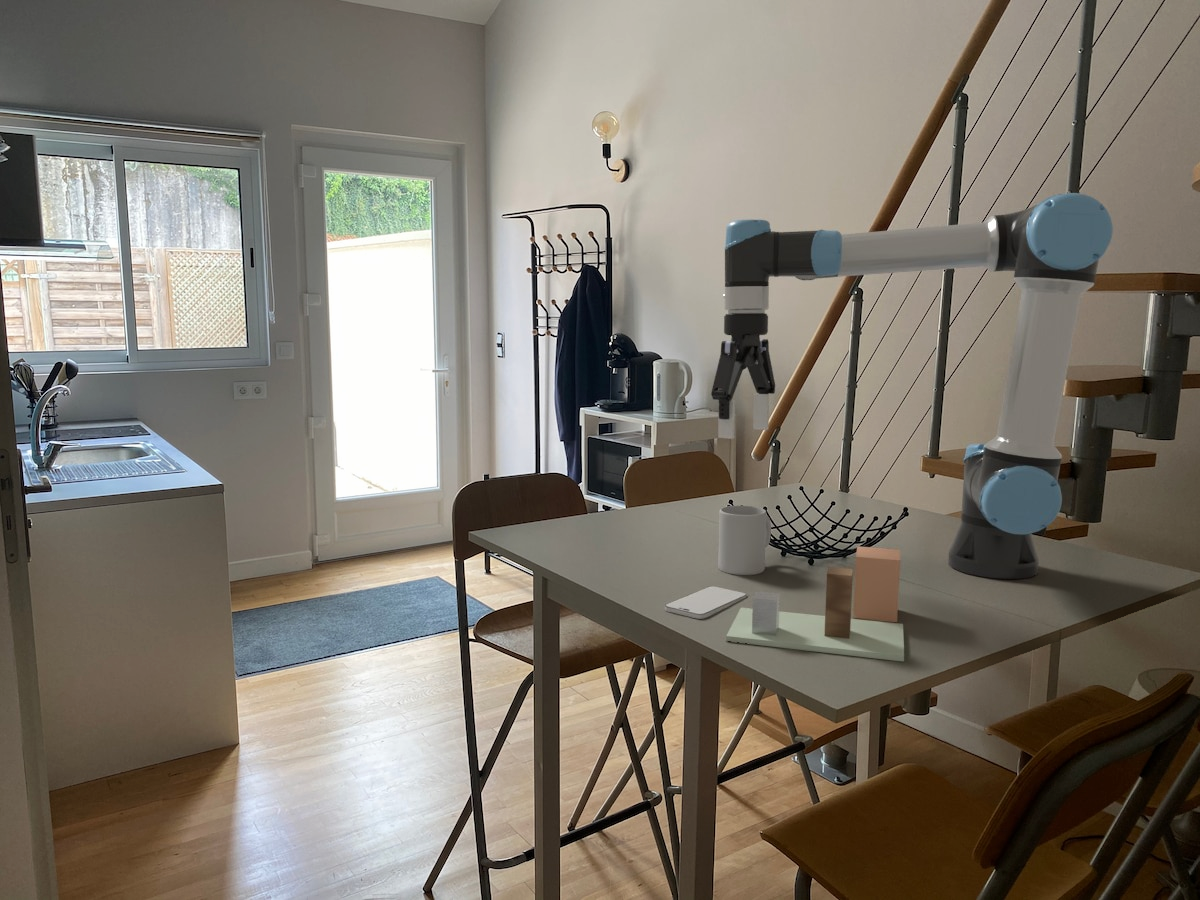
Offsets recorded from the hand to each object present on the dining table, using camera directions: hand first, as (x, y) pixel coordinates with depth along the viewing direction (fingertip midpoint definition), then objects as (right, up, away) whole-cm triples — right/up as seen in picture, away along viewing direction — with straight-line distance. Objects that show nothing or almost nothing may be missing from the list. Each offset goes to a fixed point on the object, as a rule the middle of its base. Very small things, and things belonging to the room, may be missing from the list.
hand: (744, 433), depth 156 cm
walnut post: (+9, -30, -29) cm, 43 cm away
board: (+6, -30, -28) cm, 41 cm away
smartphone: (-8, -28, -13) cm, 32 cm away
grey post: (-2, -30, -28) cm, 41 cm away
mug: (+2, -25, +7) cm, 26 cm away
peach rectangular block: (+17, -28, -18) cm, 38 cm away
